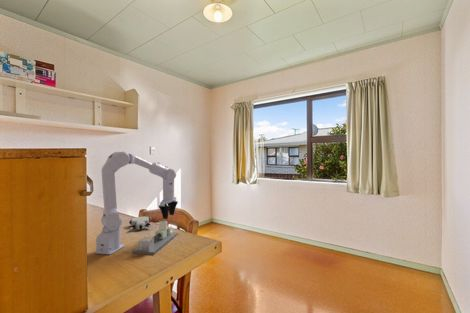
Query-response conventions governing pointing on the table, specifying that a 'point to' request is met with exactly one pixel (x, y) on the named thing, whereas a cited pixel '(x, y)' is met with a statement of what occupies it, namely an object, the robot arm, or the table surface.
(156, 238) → the dark grey bar
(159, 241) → the board
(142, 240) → the connector
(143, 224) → the robot toy
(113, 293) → the table surface
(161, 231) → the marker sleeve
